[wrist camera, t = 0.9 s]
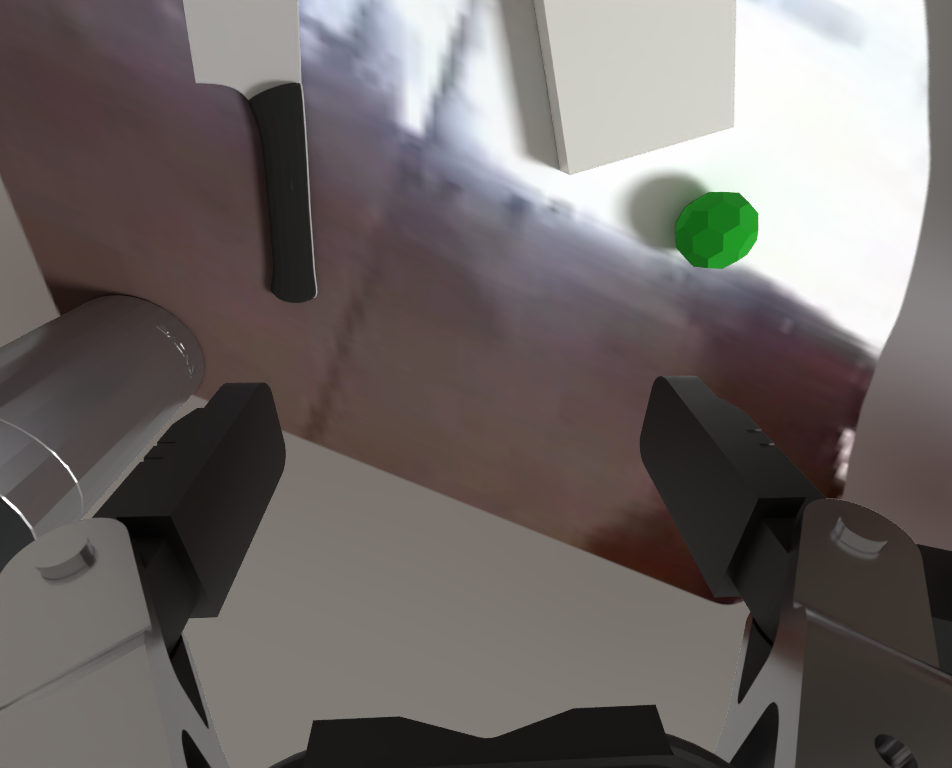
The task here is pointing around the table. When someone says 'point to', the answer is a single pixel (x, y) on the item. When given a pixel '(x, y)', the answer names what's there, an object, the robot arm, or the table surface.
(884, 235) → the table surface
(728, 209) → the polyhedron
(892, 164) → the table surface
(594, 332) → the table surface
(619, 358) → the table surface
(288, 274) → the kitchen cleaver
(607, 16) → the grey tile
